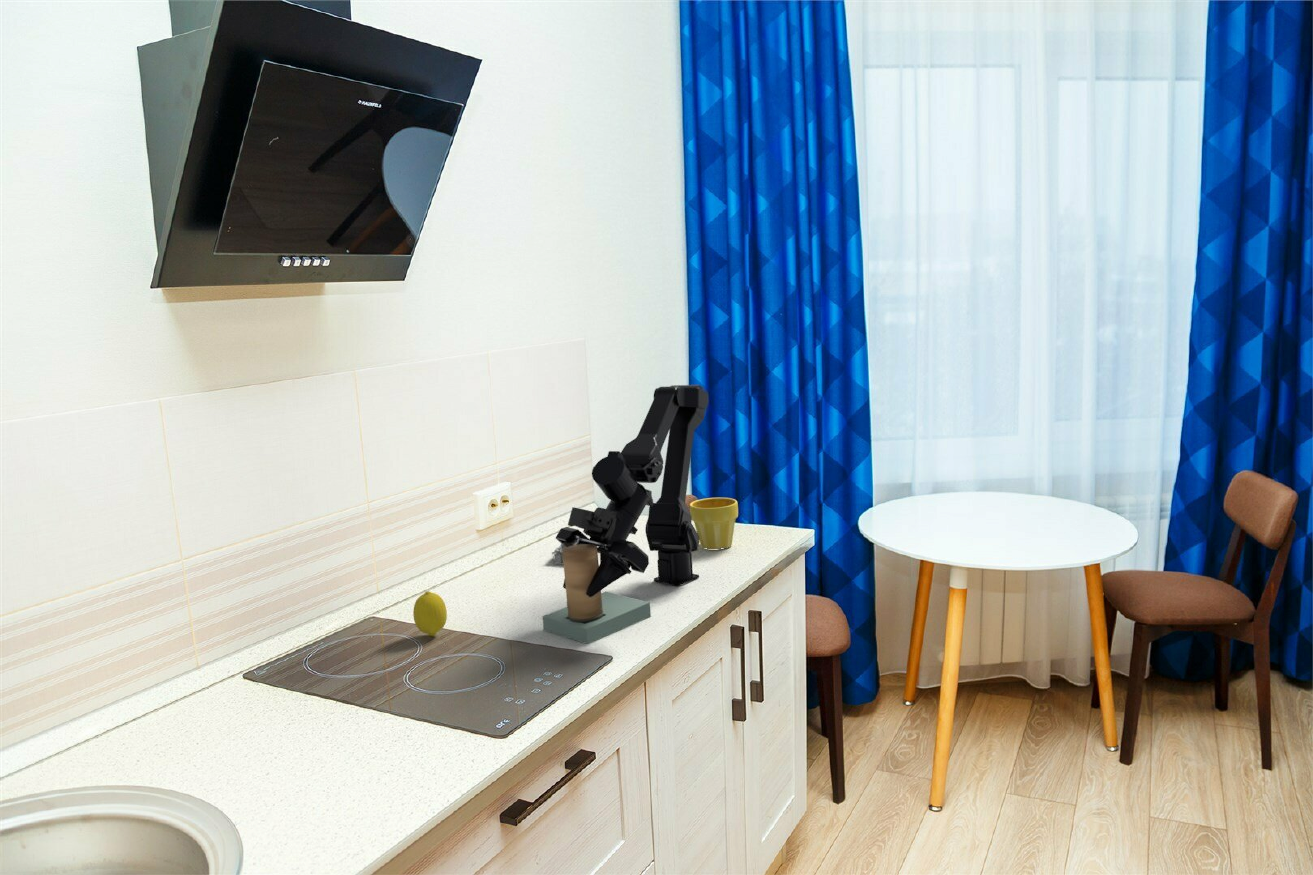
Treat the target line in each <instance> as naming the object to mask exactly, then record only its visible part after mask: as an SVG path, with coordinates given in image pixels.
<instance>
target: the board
mask: <svg viewBox="0 0 1313 875" xmlns="http://www.w3.org/2000/svg"><path fill="white" fill-rule="evenodd" d="M601 597H602V609H603V617H602V618H600V619H598V620H596V621H592V622H589V623H586V624H583V623H577V622H572V621H570V620H569V619H568V607H567V606H566V607H563V608H560V609H558V610H555V611H553V612H550V613H547V614H545V615H542V617H541V618H542V625H543V631H544V632H547V633H551V634H555V635H558V636H560V637H564V638H568V639H571V640H574V641H577V642H581V643H584V644H587V645H588V644H591V643H593V642H595V641H598V640H600V639H602V638H604V637H606V636H609V635H612V634H614V633H616V632H618V631H621V630H623V629H625V628H627V627H630V626H633V625H634V624H636V623H638V622H640V621H643V620H645V619H647V618H650V617H652V614H651V612H652V611H651V602H649V601H646V600H641V599H638V598H633V597H629V596H625V595H622V594H617V593H613V592H610V591H603V592H601Z"/></svg>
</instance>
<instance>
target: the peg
mask: <svg viewBox="0 0 1313 875" xmlns="http://www.w3.org/2000/svg"><path fill="white" fill-rule="evenodd" d="M597 547H598V546H595V545H590V544H579V545H573V546H569V547H566V548H564V549H563V550H562V553H563V564H562V565H563V572H564V579H565V585H566V589H565V593H566V604H567V606H566V607H568V619H569V620H570V621H572V622H577V623H583V624H586V623H589V622H592V621H596V620H598V619H600V618H602V617H603V609H602V597H601V593H602V590H601V591H599V592H598V593H597V594H595V595H594V596H592V597H589V596H587V595H586V592H587V590H588V587H589V585H590V583H591V581H592V579H593V577H594V575H595V573H596V571H597V569H598V567H599V565H600V562H599V555H598V554H599V553H598V552H597Z"/></svg>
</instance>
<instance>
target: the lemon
mask: <svg viewBox="0 0 1313 875" xmlns="http://www.w3.org/2000/svg"><path fill="white" fill-rule="evenodd" d="M412 612H413V614H412V615H413V620H414V624H415V626H416V627H417V629H418V630H419V631H420V632H422V633H423V634H427V635H429V636H430V637H434V636H436V634H437V633H438V632H440V631H441V630H442V629H443V628H444V626H445V625H446V623H447V620H448V619H447V618H448V614H447V606H446V603H445V601H444V599H443V598H442V597H441V596H440V595H439V594H437V593H435V592H431V591H429V590H428V591H425V592H424V593H423V594H421V595H420V596H419V597H418V598H417V599H416V600H415V603H414V605H413V611H412Z"/></svg>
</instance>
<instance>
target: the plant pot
mask: <svg viewBox="0 0 1313 875" xmlns="http://www.w3.org/2000/svg"><path fill="white" fill-rule="evenodd" d="M689 511H690V514H691V516H692V521H691V522H693V524H694V526H695V527H694V528H695V530H696V531H697V533H698V535H699V545H700V547H701V549H703V548H707V549H721V548H727V549H729V548H728V547H730V546H731V545H733V538H734V537H733V536H734V532H735V524H736V519H737V518H738V516H739V504H738V501H737V500H736V499H734V498H730V497H709V498H707V497H706V498H702V499H697V500H693V501H692V502H690V503H689ZM731 547H732V546H731ZM731 547H730V548H731Z"/></svg>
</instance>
